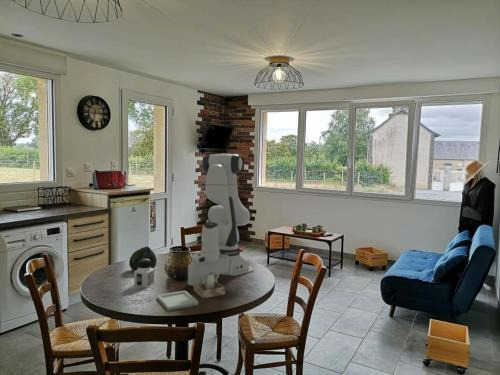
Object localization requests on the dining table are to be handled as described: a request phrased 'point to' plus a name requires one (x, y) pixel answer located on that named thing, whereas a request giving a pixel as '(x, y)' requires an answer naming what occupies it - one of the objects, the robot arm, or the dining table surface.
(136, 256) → the squash
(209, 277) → the canister
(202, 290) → the open wooden frame
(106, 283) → the dining table surface
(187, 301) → the tray
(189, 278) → the small box
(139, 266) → the container
